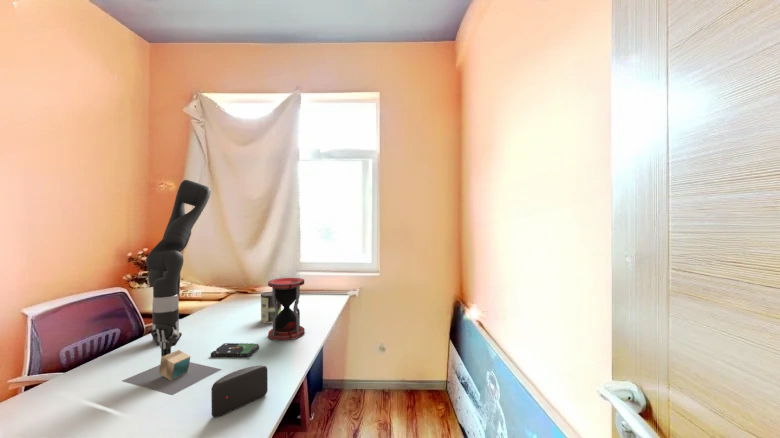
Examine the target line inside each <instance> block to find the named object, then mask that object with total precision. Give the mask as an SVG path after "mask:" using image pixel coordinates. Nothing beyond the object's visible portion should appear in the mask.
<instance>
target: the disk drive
mask: <svg viewBox="0 0 780 438" xmlns="http://www.w3.org/2000/svg"><path fill="white" fill-rule="evenodd" d="M259 349H260V345H259V343H253V342H252V343H251V342H250V343H243V342H242V343H241V342H240V343H237V342H235V343H234V342H232V343H231V342H225V343H223V344H221V345H219V346H218V347H217V348H216V350H213V351H212V352H210V358H240V359H241V358H244V359H245V358H246V359H247V360H249V359H250V358H251V357H252V356H254V354H256V352H257V351H258V350H259Z"/></svg>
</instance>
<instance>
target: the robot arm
mask: <svg viewBox="0 0 780 438" xmlns="http://www.w3.org/2000/svg"><path fill="white" fill-rule="evenodd" d="M211 190H212V189H211V188H210V187H209V186H207V185H205V184H204V185H203V184H201V183H198V182H195V181H192V180H189V179H184V180H182V181H181V183H180V184H179V186H178V189H177V192H176V196H175V200H174V205H173V207H172V210H171V215H170V218H169V219H168V223H167V224H166V228H165V231H164V233H163V236H162V239H161V240H160V241H159V242H158V243H157V244H156V245H155V246H154V247H153V249H151V251H150V252H149V253H148V255H147V257H146V263H145V264H146V267H147V269H149V272H148V276H147V281H148V284H149V286H150V287H152V290H153V292H152V303H151V304H152V305H151V306H152V313H151V315H152V316H151V317H152V319H151V320H152V326H151V327H152V330H151V329H150V332H149V333H150V335H151V337H152V341H153V343H154V344H155V345H156V346H157V347H159V348H160V352H161V353H160V354H161V355H160V356H161V357H162V356H165V355H167V354H170V353H172V347H175V346H177V343H178V342H179V341H180V339H181V337H182V335H183V334H182V332H179V331H180V323H179V322H180V321H179V319H180V318H179V317H180V310H179V309H180V308H179V303H180V302H179V296H180V292H181V291H180V290H181V288H180V287H181V272H182V268H183V266H184V260H185V259H184V255H183V254H182V252H183V250H184V249H186V247H187V246H188V243H189V242H190V241H189V240H190V238H191V235H192V230H193V227H194V226H195V224H196V223H197V221H198V219H199V218H200V216H201V215H202V212H203V211H204V209H205V207H206V206H207V204H208V202H209V199H210V196H211V192H212V191H211ZM185 205H189V206H192V207H194V208H192V209H191V210H190V211H188V212H187V213H186V212H185ZM161 357H160V358H161Z"/></svg>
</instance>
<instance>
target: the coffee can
mask: <svg viewBox="0 0 780 438" xmlns="http://www.w3.org/2000/svg"><path fill="white" fill-rule="evenodd" d="M275 303H276V305H277V302H276V299H275ZM281 311H282V305H281V304H280V309H279V311H278V314H279V313H280V312H281ZM274 315H275V307H274V306H273V303H272V291H266V292H262V293H260V321H261V323H263V324H273V316H274Z"/></svg>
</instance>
